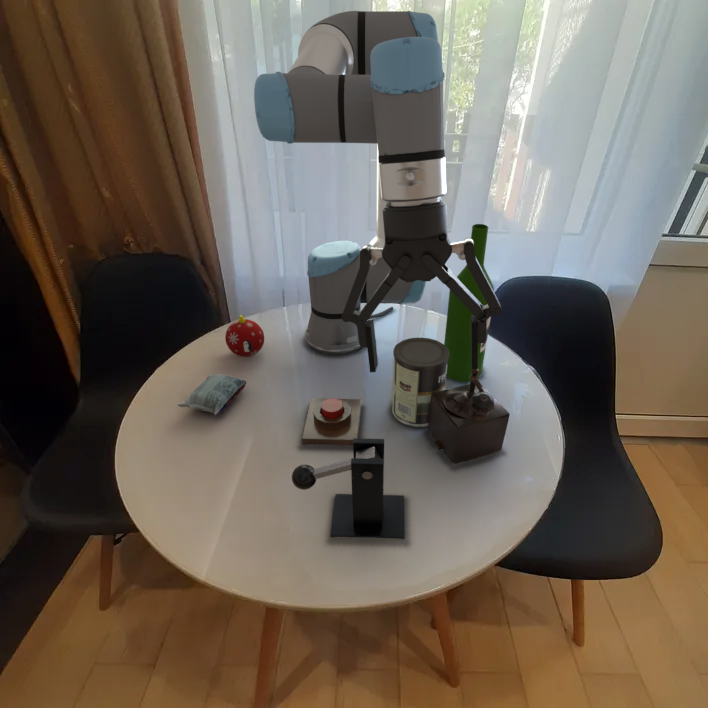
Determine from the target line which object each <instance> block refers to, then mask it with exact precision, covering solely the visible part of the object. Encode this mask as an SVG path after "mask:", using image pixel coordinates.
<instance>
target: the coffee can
mask: <svg viewBox="0 0 708 708" xmlns="http://www.w3.org/2000/svg"><path fill="white" fill-rule="evenodd" d="M392 353H393V379H392V383H393V384H392V406H391V411H392V412H391V413H392V416H394V418H395V419H396V420H397V421H398V422H399V423H401V424H403V425H406V426H408V427H413V428H425V427H428V424H429V412H430V401H431V395H432V393H434V392H438V391H442V390H446V384H447V383H446V382H447V376H446V374H447V365H448V359H449V350H448V348H447V347H446V346H445V345H444V343H442V342H440V341H438V340H436V339H432V338H430V337H429V338H428V337H411V338H406V339H403V340H401V341H399V342H397V344H396V345H395V346H394V347H393V352H392Z"/></svg>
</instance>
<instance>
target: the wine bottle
mask: <svg viewBox="0 0 708 708" xmlns="http://www.w3.org/2000/svg"><path fill="white" fill-rule="evenodd" d="M489 229H490V228H489V226H488V225H486V224H483V223H475V224H473V225H472V226H471V233H470V234H471V235H470V238H471V239H472V240H473V243H474V248H475V257H476V259H477V260H478V262H479V264H480V266H481V268H482V270H483V272H484V274H485V276H486V278H487V280H488V281H489V283H490V285H491V287H492V289H493V291H494V292H495V286H494V283H493V282H492V280H491V278H490V275H489V274H488V271H487V269H486V267H485V257H486V249H487V241H488V235H489V234H488V233H489ZM456 277H457V278H458V279H459V280H460V281H461V283H462V284H463V285H464V286H465V287H466V288H467V289H468V290H469V291H470V292H471V293H472V294H473V295H474V296H475V298H476V299H477V300H478V301H479V302H480V303H481V304H482V305H483V306H484V305H487V302H486V300H485V298H484V296H483V295H482V293H481V291H480V289H479V287H478V285H477V283H476V281H475V280H474V278H473V276H472V274H471V272H470V270H469V268H468V266H467V264H466V265H465V266H464V267H463V269H461V271H460V273H458V275H456ZM471 315H474V314H473V313H472V312H471V311H470V310H469V309H468V308H467V307H466V306H465V305H464V304H463V303H462V302H461V301H460V300H459V299H458V298H457V296H456V295H455V294H454V293H453V292H452V291H451V290H450V289H449V292H448V303H447V312H446V323H445V332H444V341H443V342H444V343H443V344H444V345H445V346H446V347H447V348H448V350H449V359H448V365H447V374H446V378H447V379H450V380H452V381H456V382H461V383H465V382H466V383H468V382H471V380H470V375H471V374H472V373H471V371H472V365H471ZM491 318H492V316H491V317H489V318H488V319H487V339H486V342H485V343H478V369H479V374H478V378H479V377H481V375H482V373H483V367H484V361H485V356H486V355H485V354H486V349H487V348H486V347H487V343H488V336H489V332H490V331H489V330H490V324H491Z"/></svg>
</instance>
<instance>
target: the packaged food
mask: <svg viewBox="0 0 708 708" xmlns="http://www.w3.org/2000/svg"><path fill="white" fill-rule="evenodd" d="M247 384H248V383H247V380H245V379H242V378H239V377H237V376H231V375H229V374H228V375H227V374H221V373H217V374H216V373H212V374H210V375H207V377H206V378H205V379H204V380H203V381H202V382H201V383H200V384H199V385H198V386H197V387H196V388H195V389H194V390H193V391H192V392H191V393H190V394H189V395H188V396H186V397H185V399H183V401H182V402H180V403H177V406H178V407H180V408H188V409H193V410H198V411H203V412H209V413H210V414H213V415H214V416H220V415H221V414H222V413H223V412H224V411H225V410H226V409H227V407H228V406H229V405H230V403H232V402H233V401H234V400H235V398H236V397H237V396H239V395H240V393H241V392H242V391H244V389H245V387H246V385H247Z"/></svg>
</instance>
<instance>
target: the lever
mask: <svg viewBox="0 0 708 708" xmlns="http://www.w3.org/2000/svg"><path fill="white" fill-rule="evenodd" d="M356 458H364V459H381V457H380V456H379V454H378V452H377V450H376V448H375V446H374V447H370V448H367V449H363V450H359V451H356ZM351 459H352V458H351ZM351 459H347V460H344V461H340V462H335V463H332V464H328V465H325V466H321V467H317V468H314V467H313V466H311V465H310V464H306V463H305V464H300V465H298V466H296V467H295V468H294V469H293V471H292V473H291V481H292V484H293V486H295V488H297V489H299V490H302V491H306V490H309V489H311V488H313V487H314V485H315V484H316V482H317V480H319V479H322V478H326V477H330V476H333V475H337V474H341V473H345V472H349V471H351Z"/></svg>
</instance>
